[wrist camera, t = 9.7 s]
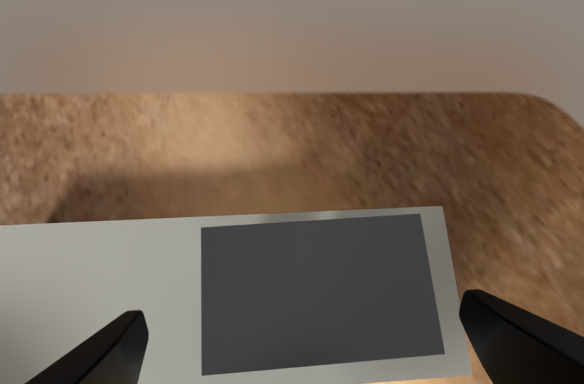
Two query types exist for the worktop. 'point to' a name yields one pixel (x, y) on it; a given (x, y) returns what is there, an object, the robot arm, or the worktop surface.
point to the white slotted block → (174, 298)
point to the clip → (316, 294)
